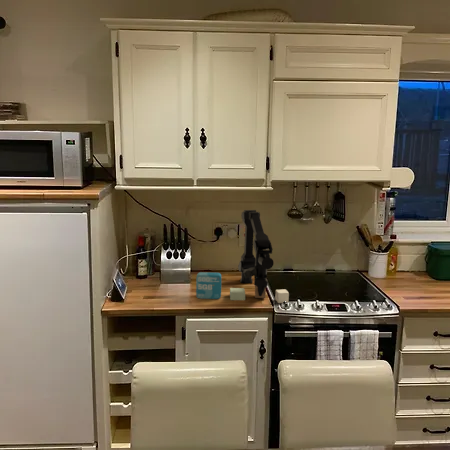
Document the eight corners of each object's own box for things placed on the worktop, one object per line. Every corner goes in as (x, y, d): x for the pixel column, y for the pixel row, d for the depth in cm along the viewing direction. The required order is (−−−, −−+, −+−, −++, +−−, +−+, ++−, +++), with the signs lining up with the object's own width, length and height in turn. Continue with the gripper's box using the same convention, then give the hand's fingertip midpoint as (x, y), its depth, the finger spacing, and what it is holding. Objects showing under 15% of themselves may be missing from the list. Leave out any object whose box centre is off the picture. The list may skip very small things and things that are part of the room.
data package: (196, 298, 226) (196, 274, 224) (196, 295, 230) (197, 272, 228) (220, 299, 226) (221, 275, 223) (221, 296, 230) (221, 272, 228)
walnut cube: (254, 294, 231) (255, 284, 230) (265, 294, 231) (265, 285, 230) (254, 297, 226) (255, 287, 225) (265, 298, 226) (265, 288, 225)
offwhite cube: (275, 299, 227) (275, 289, 226) (285, 299, 228) (285, 289, 227) (278, 303, 222) (278, 293, 221) (288, 302, 223) (288, 292, 222)
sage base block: (229, 295, 232) (230, 288, 231) (243, 295, 232) (244, 288, 231) (230, 300, 225) (230, 292, 224) (245, 300, 225) (245, 292, 224)
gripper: (244, 257, 235) (244, 287, 238) (244, 268, 216) (243, 300, 219) (267, 258, 234) (265, 288, 237) (268, 269, 216) (266, 301, 219)
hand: (260, 294), depth 228 cm, fingers closed on walnut cube, 5 cm apart
